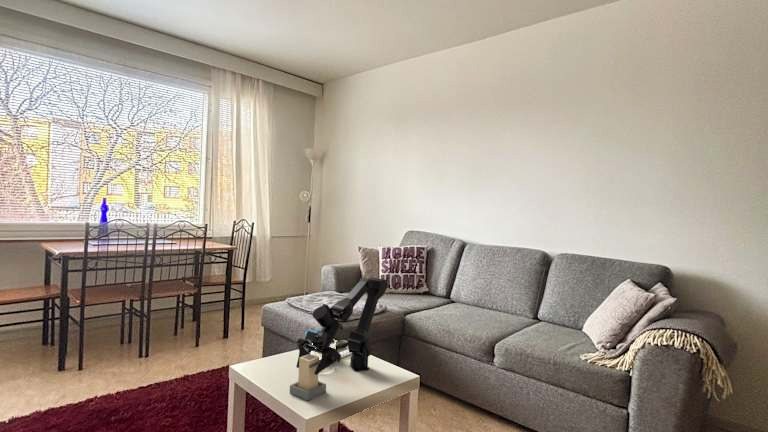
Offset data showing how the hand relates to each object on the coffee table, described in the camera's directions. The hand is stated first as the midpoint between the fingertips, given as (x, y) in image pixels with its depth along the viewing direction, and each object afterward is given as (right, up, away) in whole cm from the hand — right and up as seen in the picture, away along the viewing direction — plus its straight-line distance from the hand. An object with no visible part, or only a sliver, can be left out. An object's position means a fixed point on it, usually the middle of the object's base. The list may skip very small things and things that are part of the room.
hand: (306, 370), depth 154 cm
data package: (-1, -7, +35) cm, 35 cm away
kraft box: (0, -8, +2) cm, 8 cm away
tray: (0, -9, +2) cm, 9 cm away
